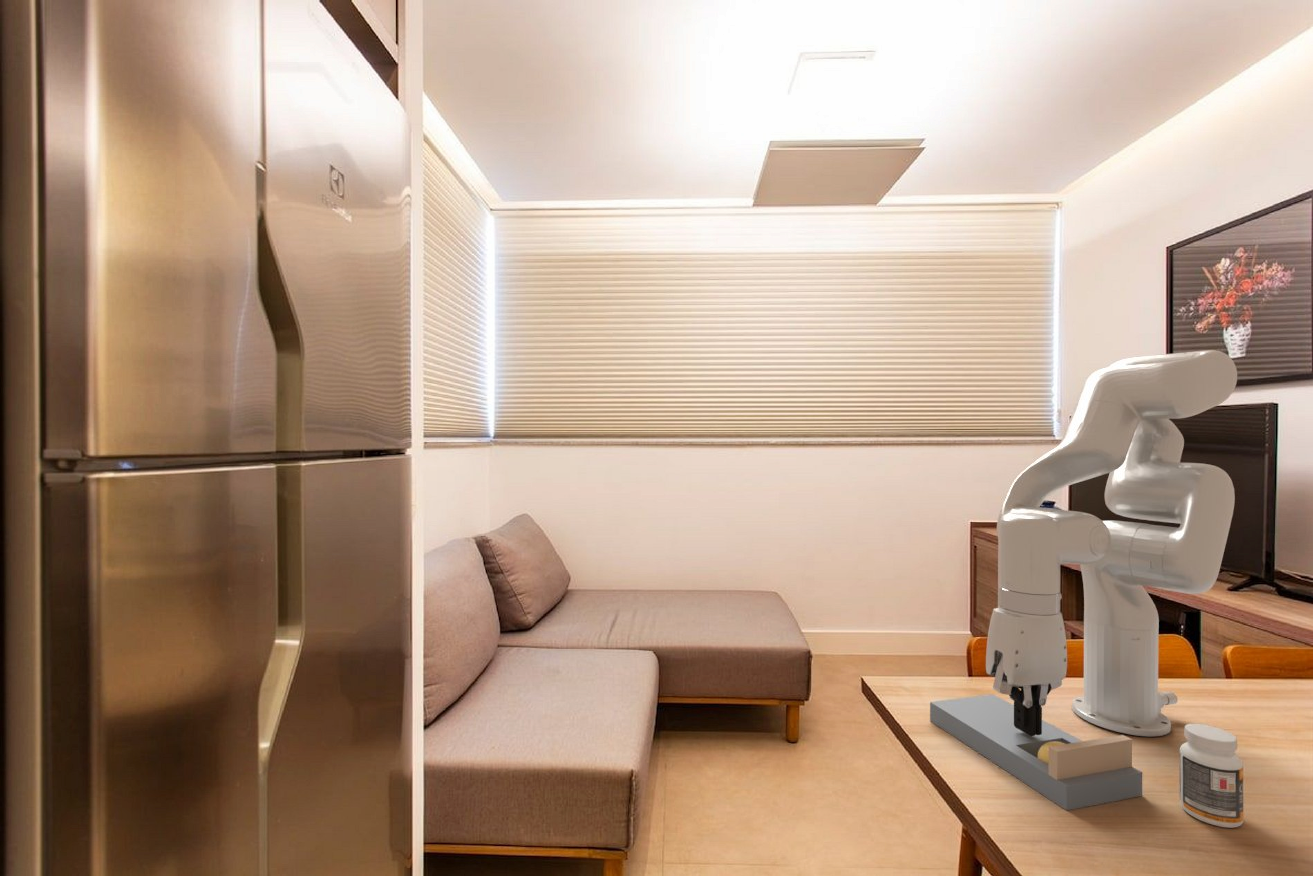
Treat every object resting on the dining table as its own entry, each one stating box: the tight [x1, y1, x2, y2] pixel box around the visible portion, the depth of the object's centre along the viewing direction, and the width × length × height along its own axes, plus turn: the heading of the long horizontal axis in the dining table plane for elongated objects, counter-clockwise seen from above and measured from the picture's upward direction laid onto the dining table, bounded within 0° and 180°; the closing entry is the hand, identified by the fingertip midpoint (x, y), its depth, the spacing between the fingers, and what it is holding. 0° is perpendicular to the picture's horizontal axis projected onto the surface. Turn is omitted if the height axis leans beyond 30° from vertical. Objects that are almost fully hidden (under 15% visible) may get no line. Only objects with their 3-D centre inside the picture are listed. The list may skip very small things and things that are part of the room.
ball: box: [1037, 741, 1064, 765], centre depth 80 cm, size 5×5×5 cm
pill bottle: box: [1179, 723, 1244, 829], centre depth 73 cm, size 6×6×10 cm
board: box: [929, 693, 1143, 811], centre depth 87 cm, size 12×24×6 cm, turn 15°
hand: (1027, 730), depth 87 cm, fingers closed
